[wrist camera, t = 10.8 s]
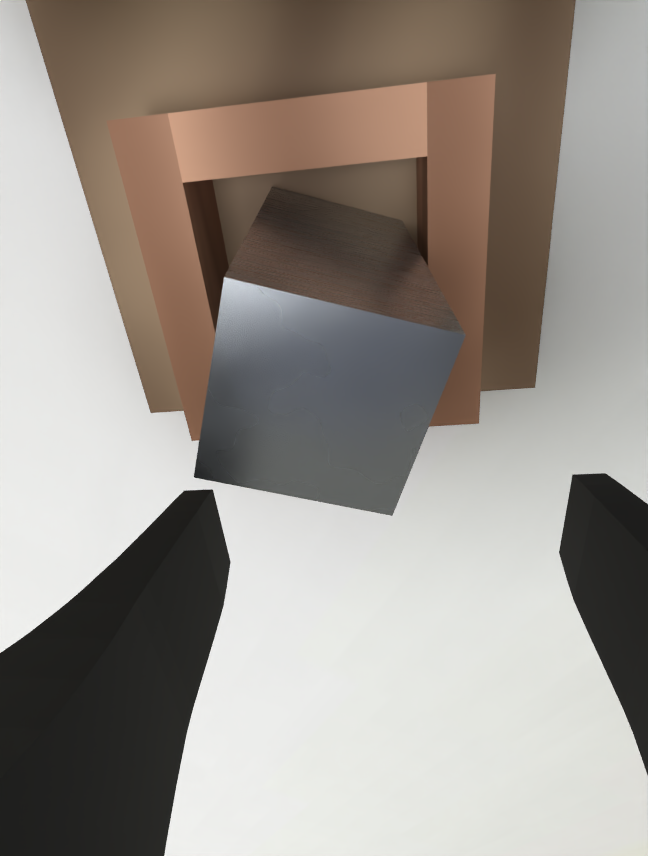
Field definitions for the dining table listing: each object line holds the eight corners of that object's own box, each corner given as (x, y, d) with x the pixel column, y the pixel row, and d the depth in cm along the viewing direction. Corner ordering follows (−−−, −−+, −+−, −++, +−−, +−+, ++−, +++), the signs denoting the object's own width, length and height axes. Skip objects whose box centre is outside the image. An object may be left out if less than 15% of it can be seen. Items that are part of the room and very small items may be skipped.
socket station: (590, -288, 12) (1422, -1646, 3) (527, 375, 20) (674, 619, 11) (-10, -179, 13) (-875, -822, 4) (159, 400, 22) (5, 636, 12)
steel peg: (401, 220, 17) (465, 334, 9) (365, 340, 19) (391, 515, 11) (272, 186, 16) (224, 277, 9) (249, 312, 18) (194, 477, 11)
